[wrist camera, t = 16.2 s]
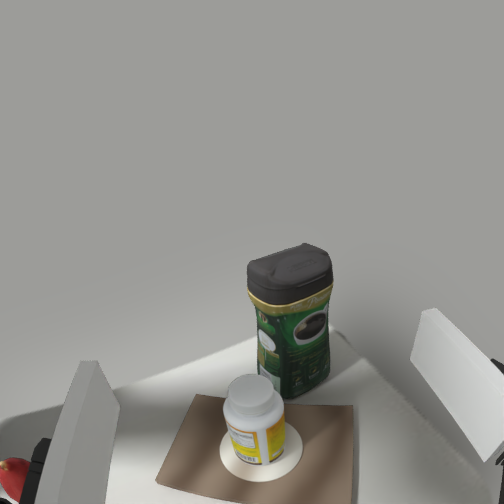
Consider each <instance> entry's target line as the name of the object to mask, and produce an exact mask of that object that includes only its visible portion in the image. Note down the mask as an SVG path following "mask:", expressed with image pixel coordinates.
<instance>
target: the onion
mask: <svg viewBox="0 0 504 504" xmlns="http://www.w3.org/2000/svg"><path fill="white" fill-rule="evenodd" d="M29 465H30V462H28V461H26V460H24V459H20V458H9V459H6V460H4V461H1V462H0V482H1V485H2V486H3V488H4V490H5V491H6V493H7V494H8V495H9V496H10V497H11V498H12V499H14V500H15V501H17V502H18V503H19V501H20V497H21V493H22V489H23V486H24V482H25V478H26V475H27V472H29V470H28V468H29Z"/></svg>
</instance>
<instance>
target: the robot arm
mask: <svg viewBox="0 0 504 504" xmlns="http://www.w3.org/2000/svg"><path fill="white" fill-rule="evenodd" d="M410 361H411V362H412V363H413V365H414V366H415V367H416V369H417V370H418V371H419V372H420V374H421V375H422V376H423V377H424V379H425V380H426V382H427V383H428V384H429V386H430V387H431V388H432V390H433V391H434V392H435V393H436V395H437V396H438V398H439V399H440V400H441V402H442V403H443V404H444V406H445V407H446V409H447V410H448V411H449V413H450V414H451V415H452V417H453V418H454V419H455V421H456V422H457V424H458V425H459V427H460V428H461V430H462V431H463V432H464V433H465V435H466V437H467V438H468V440H469V441H470V442H471V444H472V445H473V447H474V448H475V450H476V451H477V452H478V454H479V456H480V457H481V458H482V460H483V461H484V462H486V461H488V460H489V459H490V458H492V457H493V456H494V455H496V454H497V453H498V452H499V451H500V450H501V448H502V447H503V446H504V365H503V364H502V363H500V362H498V361H496V360H495V359H491V360H489V359H488V358H487V357H486V356H485V355H484V354H483V353H482V352H481V351H480V350H479V349H478V348H477V347H476V346H475V345H474V344H473V343H472V342H471V341H470V340H469V339H468V338H467V337H466V336H465V335H464V334H463V333H462V332H461V331H460V330H459V329H458V328H457V327H456V326H455V325H454V324H453V323H452V322H450V321H449V320H448V319H447V318H446V317H445V316H444V315H443V314H442V313H441V312H440V311H439V310H438V309H436V308H432V309H428V310H425V311H422V314H421V319H420V323H419V327H418V330H417V335H416V338H415V342H414V346H413V349H412V352H411V356H410ZM120 408H121V406H120V404H119V403H118V401H117V399H116V397H115V395H114V393H113V391H112V389H111V387H110V386H109V384H108V382H107V380H106V377H105V375H104V374H103V371H102V369H101V367H100V365H99V363H98V361H81V362H80V364H79V367H78V369H77V372H76V374H75V376H74V379H73V382H72V384H71V387H70V389H69V392H68V395H67V397H66V400H65V402H64V405H63V408H62V411H61V414H60V416H59V419H58V422H57V425H56V428H55V431H54V434H53V437H52V439H48V438H42V440H41V441H40V442H39V443H38V445H37V446H36V447H35V449H34V452H33V455H32V458H31V462H30V465H29V468H28V470H29V472H27V475H26V478H25V482H24V486H23V489H22V493H21V497H20V501H19V504H105V499H106V491H107V484H108V477H109V470H110V463H111V457H112V451H113V445H114V439H115V434H116V428H117V423H118V418H119V413H120ZM503 458H504V452H503V453H502V454H501V455H500V457H499V458H498V459H497V460H496V465H498V464H499V463H500V462H501V460H503ZM501 465H503V475H502V484H501V491H500V498H499V504H504V460H503V461H502V463H501ZM0 504H12V503H10V502H9V501H8V500H7V499H4V498H0Z"/></svg>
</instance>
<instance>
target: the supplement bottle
mask: <svg viewBox="0 0 504 504" xmlns="http://www.w3.org/2000/svg"><path fill="white" fill-rule="evenodd" d="M223 412H224V417H225V421H226V424H227V427H228V431H229V434H230V438H231V441H232V445H233V448H234V451H235V453H236V455H237V457H238V458H239V459H240V460H241V461H243V462H244V463H246V464H249V465H252V466H265V465H269V464H271V463H273V462H275V461H276V460H278V459H279V458H280V457H281V456H282V454H283V452H284V450H285V444H286V442H285V419H284V403H283V400H282V397H281V396H280V394H279V393H278V392H277V391H275V390H274V387H273V384H272V382H271V381H270V380H269V379H268V378H266V377H264V376H262V375H257V374H248V375H243V376H240V377H238V378H237V379H235V380H234V381H233V382H232V383H231V384H230V386H229V389H228V397H227V398H226V400H225V402H224V406H223Z"/></svg>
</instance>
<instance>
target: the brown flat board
mask: <svg viewBox="0 0 504 504" xmlns="http://www.w3.org/2000/svg"><path fill="white" fill-rule="evenodd" d="M225 400H226V398H220V397H213V396H206V395H199V394H196V395H195V397H194V400H193V402H192V404H191V406H190V408H189V410H188V412H187V414H186V416H185V419H184V421H183V423H182V425H181V427H180V429H179V431H178V433H177V435H176V437H175V440H174V442H173V444H172V446H171V448H170V450H169V452H168V454H167V456H166V458H165V460H164V463H163V465H162V467H161V469H160V471H159V473H158V475H157V477H156V479H155V481H156V482H157V483H158V484H161V485H164V486H167V487H171V488H174V489H178V490H181V491H185V492H189V493H193V494H197V495H201V496H206V497H210V498H215V499H220V500H225V501H230V502H236V503H242V504H351V497H352V476H353V405H349V406H330V405H297V404H284V419H285V442H286V444H285V450H284V452H283V454H282V456H281V457H280V458H279V459H278V460H276V461H275V462H273V463H271V464H269V465H265V466H252V465H249V464H246V463H244V462H243V461H241V460H240V459H239V458H238V457H237V455H236V453H235V451H234V448H233V445H232V441H231V438H230V434H229V431H228V427H227V424H226V421H225V417H224V412H223V406H224V402H225Z"/></svg>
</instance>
